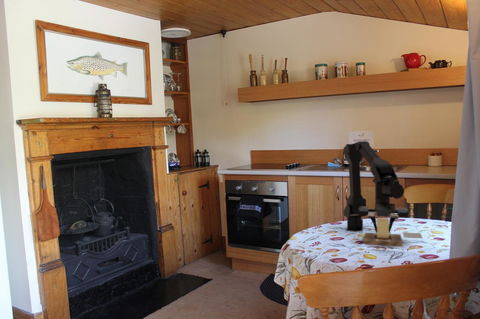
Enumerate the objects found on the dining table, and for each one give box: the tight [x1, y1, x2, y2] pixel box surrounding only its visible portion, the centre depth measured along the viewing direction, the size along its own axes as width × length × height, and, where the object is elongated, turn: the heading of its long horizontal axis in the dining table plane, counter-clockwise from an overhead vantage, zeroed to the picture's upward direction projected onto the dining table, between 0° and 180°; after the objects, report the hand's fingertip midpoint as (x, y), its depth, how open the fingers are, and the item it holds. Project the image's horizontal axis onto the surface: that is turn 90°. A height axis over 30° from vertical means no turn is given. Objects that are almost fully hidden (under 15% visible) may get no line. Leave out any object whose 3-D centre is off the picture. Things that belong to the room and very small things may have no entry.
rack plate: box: [364, 232, 403, 250], centre depth 165 cm, size 14×12×3 cm
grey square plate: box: [402, 232, 423, 239], centre depth 172 cm, size 7×8×1 cm
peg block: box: [376, 217, 390, 240], centre depth 165 cm, size 4×4×8 cm
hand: (382, 232), depth 165 cm, fingers closed on peg block, 4 cm apart
